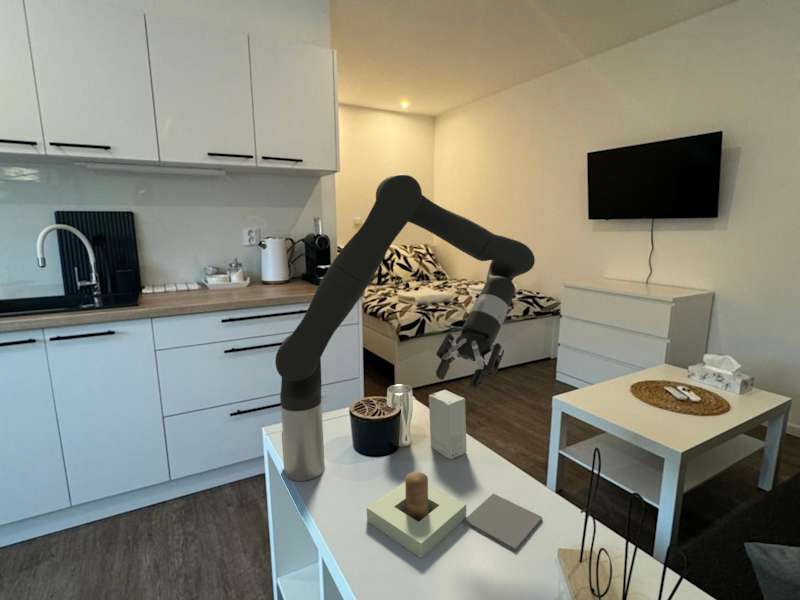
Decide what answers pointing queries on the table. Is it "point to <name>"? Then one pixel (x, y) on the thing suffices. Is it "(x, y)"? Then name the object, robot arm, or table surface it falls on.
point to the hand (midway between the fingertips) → (455, 382)
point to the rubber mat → (503, 521)
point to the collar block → (409, 531)
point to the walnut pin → (416, 495)
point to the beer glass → (402, 409)
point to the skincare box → (447, 423)
